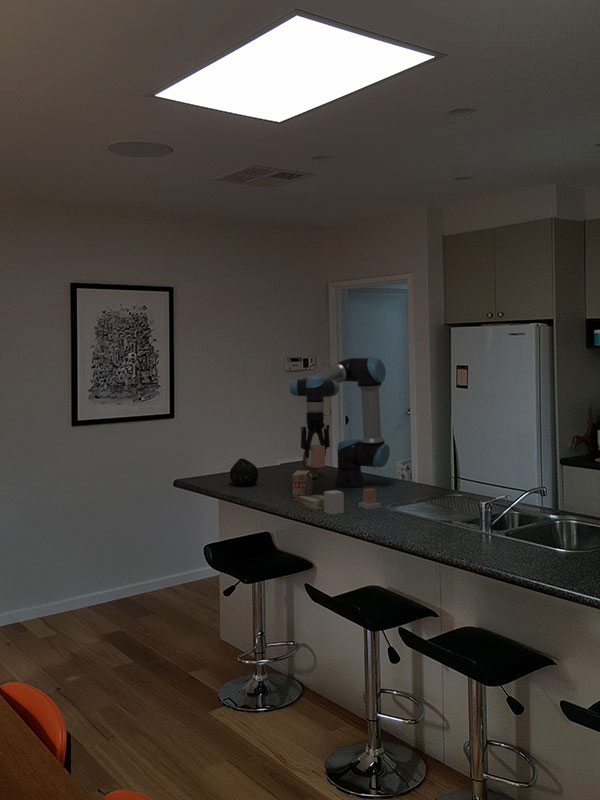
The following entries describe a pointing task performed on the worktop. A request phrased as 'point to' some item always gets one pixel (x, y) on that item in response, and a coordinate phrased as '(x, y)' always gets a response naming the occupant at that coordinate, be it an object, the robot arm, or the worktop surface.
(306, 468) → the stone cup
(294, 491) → the stack of blocks
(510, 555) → the worktop surface
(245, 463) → the squash
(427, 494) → the worktop surface
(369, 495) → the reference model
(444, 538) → the worktop surface
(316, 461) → the terracotta block
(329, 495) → the off-white block
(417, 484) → the worktop surface
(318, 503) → the birch base block
